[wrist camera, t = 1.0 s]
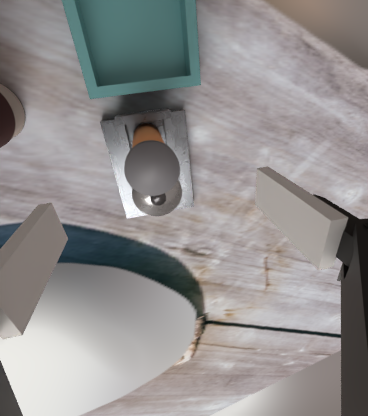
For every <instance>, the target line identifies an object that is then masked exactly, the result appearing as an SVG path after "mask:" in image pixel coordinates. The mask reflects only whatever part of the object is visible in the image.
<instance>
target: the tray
mask: <svg viewBox="0 0 368 416" xmlns="http://www.w3.org/2000/svg"><path fill="white" fill-rule="evenodd" d="M62 3H63V6H64V10H65V13H66V17H67V20H68V24H69V27H70V31H71V34H72V38H73V41H74V45H75V48H76V52H77V55H78V59H79V62H80V66H81V69H82V73H83V76H84V80H85V83H86V87H87V90H88V94H89V97H90V99H94V98H102V97H110V96H118V95H126V94H134V93H142V92H150V91H158V90H166V89H174V88H181V87H189V86H197V85H201V81H200V65H199V48H198V32H197V16H196V0H62Z"/></svg>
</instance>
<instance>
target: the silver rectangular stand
mask: <svg viewBox="0 0 368 416" xmlns="http://www.w3.org/2000/svg"><path fill="white" fill-rule="evenodd" d="M100 123H101V127H102V130H103V134H104V138H105V141H106V145H107V148H108V152H109V156H110V159H111V163H112V166H113V170H114V174H115V177H116V181H117V184H118V188H119V192H120V195H121V199H122V202H123V206H124V210H125V213H126V217H127V218H133V217H138V216H143V215H151V216H162V215H165V214H168V213H170V212H172V211H173V210H176V209H182V208H187V207H193V206H194V202H193V192H192V182H191V171H190V161H189V151H188V141H187V130H186V120H185V110H183V109H182V110H175V111H170V110H169V109H168V108H165V109H157V110H150V111H142V112H135V113H128V114H120V115H116V116H115V119H109V120H102V121H101V122H100ZM144 123H148V124H152V125H154V126H155V127H156V128H157V129H158V130H159V132H160V134H161V137H162V139H163V141H164V143H165V144H166V145H168V146H169V147H170V148H171V149H172V150H173V151H174V153H175V155H176V156H177V158H178V161H179V164H180V175H179V178H178V180H177V182H176V184H175V185H174V186H173V188H171V189H170V190H169V191H168V192H166V193H164V194H161V195H157V196H148V195H144V194H141V193H139V192H137V191H136V190H134V189H133V188H132V187H131V186H130V185H129V183H128V182H127V180H126V177H125V173H124V165H125V160H126V157H127V154H128V153H129V151H130V150H131V149H132V145H133V135H134V131H135V129H136V128H137V127H138V126H139V125H141V124H144Z"/></svg>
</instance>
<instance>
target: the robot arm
mask: <svg viewBox="0 0 368 416" xmlns="http://www.w3.org/2000/svg"><path fill="white" fill-rule="evenodd" d="M255 205H256V206H257V207H258V208H259V209H260V210H261V212H262V213H263V214H264V215H265V216H266V217H267V218H268V219H269V220H270V221H271V222H272V223H273V224H274V225H275V226H276V227H277V228H278V229H279V230H280V231H281V232H282V233H283V234H284V235H285V236H286V238H287V239H288V240H289V241H290V242H291V243H292V244H293V245H294V246H295V247H296V248H297V249H298V250H299V251H300V252H301V253H302V254H303V255H304V256H305V257H306V258H307V259H308V260H309V261H310V262H311V263H312V265H313V266H314V267H315V268H316V269H317V270H322V269H327V268H331V267H333V266H334V263H335V260H336V257H337V258H338V259H339V260H341V261H342V262H343V264H342V267H341V270H340V273H339V276H338V279H337V281H340V280H341V414H342V415H341V416H368V219H359V218H357V217H355V216H354V215H352V214H350V213H349V212H347V211H345V210H344V209H342V208H339V206H337V205H335V204H333V203H332V202H331V201H329V200H327V199H326V198H323V197H320V196H317V195H312V194H310V193H309V192H307V191H306V190H304V189H302V188H301V187H299V186H298V185H296V184H295V183H293V182H291V181H290V180H288V179H287V178H285V177H284V176H282V175H280V174H279V173H277V172H276V171H274V170H273V169H271V168H269V167H263V168H257V178H256V195H255ZM67 240H68V238H67V235H66V233H65V231H64V229H63V227H62V225H61V222H60V220H59V218H58V216H57V214H56V211H55V209H54V207H53V205H52V203H47V204H41V205H38V206H37V207H36V208H35V209H34V211H33V212H32V213H31V214H30V215H29V216H28V218H27V219H26V220H25V221H24V222H23V223H22V225H21V226H20V227H19V228H18V229H17V230H16V232H15V233H14V234H13V235H12V236H11V237H10V239H9V240H8V241H7V242H6V243H5V244H4V246H3V247H2V248H1V249H0V337H1V338H2V339H6V338H11V337H16V336H20V335H23V333H24V331H25V329H26V326H27V324H28V322H29V320H30V318H31V316H32V314H33V312H34V309H35V307H36V305H37V303H38V301H39V299H40V297H41V294H42V293H43V291H44V288H45V286H46V284H47V282H48V280H49V278H50V276H51V274H52V272H53V269H54V267H55V265H56V263H57V261H58V259H59V257H60V255H61V253H62V251H63V249H64V246H65V244H66V242H67ZM0 416H23V415H22V412H21V410H20V408H19V405H18V403H17V400H16V398H15V395H14V393H13V390H12V388H11V386H10V383H9V381H8V378H7V376H6V373H5V371H4V368H3V366H2V363H1V361H0Z"/></svg>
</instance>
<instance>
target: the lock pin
mask: <svg viewBox="0 0 368 416" xmlns="http://www.w3.org/2000/svg"><path fill="white" fill-rule="evenodd" d="M124 173H125V177H126V180H127V182H128V183H129V185H130V186H131V187H132V188H133V189H134V190H136V191H137V192H139V193H141V194H144V195H148V196H157V195H161V194H164V193H166V192H168V191H169V190H170V189H171V188H173V186H174V185H175V184H176V182H177V180H178V178H179V175H180V164H179V161H178V158H177V156H176V155H175V153H174V151H173V150H172V149H171V148H170V147H169V146H168V145H166V144H165V143H164V141H163V139H162V137H161V134H160V132H159V130H158V129H157V128H156V127H155V126H154V125H152V124H148V123H144V124H141V125H139V126H138V127H137V128H136V129H135V131H134V135H133V145H132V149H131V150H130V151H129V153H128V154H127V157H126V160H125V165H124Z"/></svg>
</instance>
